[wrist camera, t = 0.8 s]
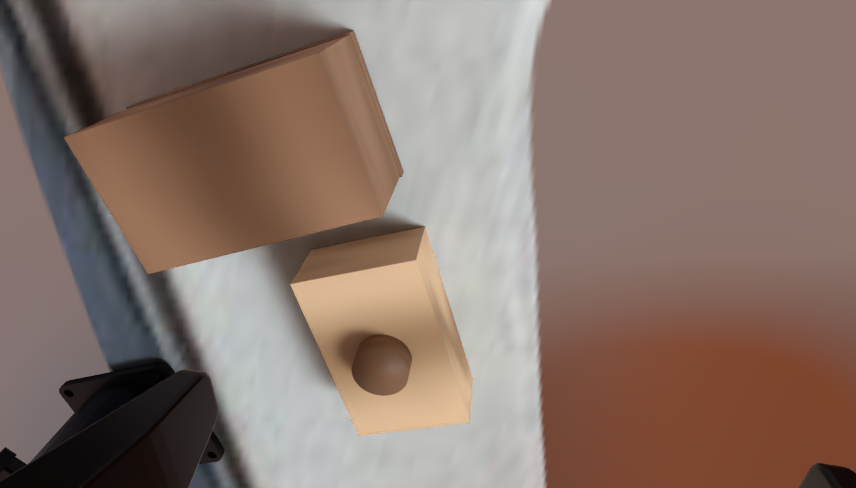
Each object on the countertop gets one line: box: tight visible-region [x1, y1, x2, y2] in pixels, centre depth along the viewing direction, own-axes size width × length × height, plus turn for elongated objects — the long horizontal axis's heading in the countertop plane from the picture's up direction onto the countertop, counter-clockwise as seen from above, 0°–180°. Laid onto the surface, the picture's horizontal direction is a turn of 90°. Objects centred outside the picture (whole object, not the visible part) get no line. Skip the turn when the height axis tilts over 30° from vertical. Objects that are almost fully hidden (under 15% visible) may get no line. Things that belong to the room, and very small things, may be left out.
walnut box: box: [64, 31, 403, 274], centre depth 19 cm, size 9×5×4 cm, turn 108°
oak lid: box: [290, 227, 473, 436], centre depth 23 cm, size 8×5×4 cm, turn 16°
